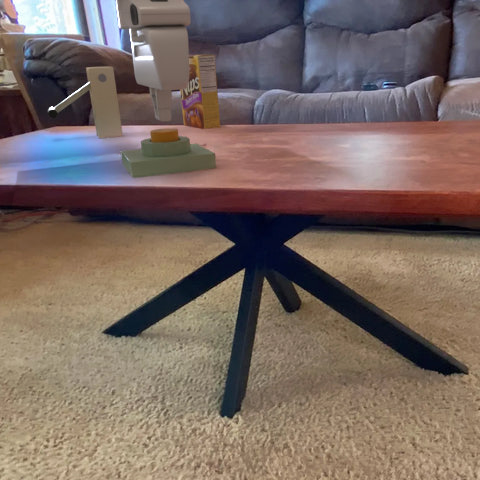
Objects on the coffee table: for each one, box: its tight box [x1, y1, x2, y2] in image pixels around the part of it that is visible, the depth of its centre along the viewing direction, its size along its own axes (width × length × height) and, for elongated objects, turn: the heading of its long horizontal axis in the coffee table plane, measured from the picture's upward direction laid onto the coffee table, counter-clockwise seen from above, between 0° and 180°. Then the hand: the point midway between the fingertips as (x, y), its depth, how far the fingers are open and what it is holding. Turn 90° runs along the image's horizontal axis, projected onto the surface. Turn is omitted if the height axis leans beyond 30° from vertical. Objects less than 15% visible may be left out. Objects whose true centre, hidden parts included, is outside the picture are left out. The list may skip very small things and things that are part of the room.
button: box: [149, 127, 180, 142], centre depth 75 cm, size 4×4×2 cm
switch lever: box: [47, 82, 91, 119], centre depth 94 cm, size 13×5×2 cm, turn 113°
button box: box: [120, 135, 217, 179], centre depth 76 cm, size 12×10×4 cm
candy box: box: [179, 54, 221, 130], centre depth 105 cm, size 9×4×15 cm, turn 37°
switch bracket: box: [85, 65, 124, 140], centre depth 97 cm, size 10×8×14 cm
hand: (163, 120), depth 74 cm, fingers closed
